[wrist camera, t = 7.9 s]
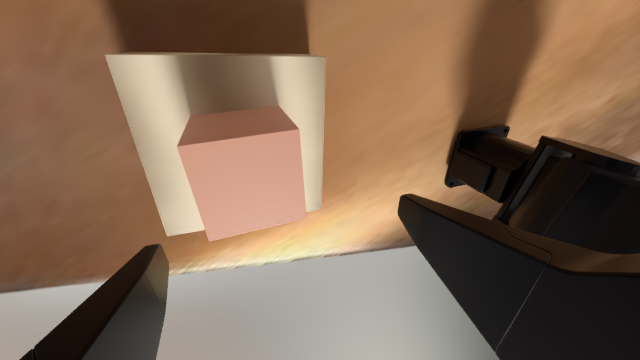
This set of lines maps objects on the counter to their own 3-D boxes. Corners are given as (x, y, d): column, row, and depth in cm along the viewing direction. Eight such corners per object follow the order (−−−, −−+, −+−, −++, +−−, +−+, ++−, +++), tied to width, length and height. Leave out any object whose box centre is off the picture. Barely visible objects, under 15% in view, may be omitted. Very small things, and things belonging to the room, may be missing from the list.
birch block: (307, 53, 18) (326, 56, 15) (307, 185, 24) (321, 209, 20) (130, 51, 15) (104, 54, 12) (176, 204, 20) (167, 236, 17)
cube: (278, 105, 15) (299, 129, 11) (287, 177, 18) (306, 218, 14) (190, 115, 14) (176, 146, 10) (212, 191, 17) (209, 241, 12)
